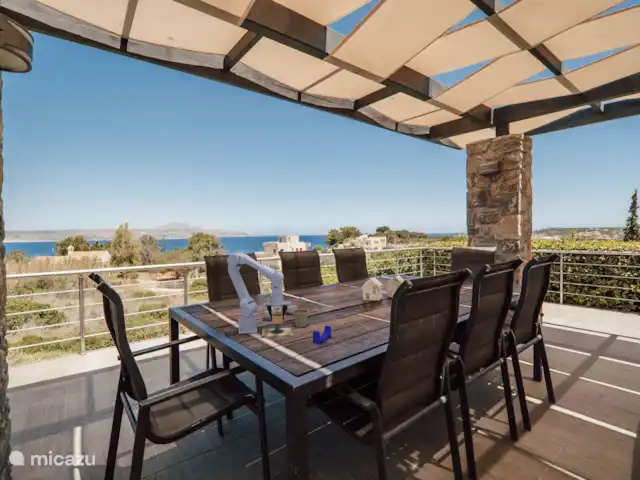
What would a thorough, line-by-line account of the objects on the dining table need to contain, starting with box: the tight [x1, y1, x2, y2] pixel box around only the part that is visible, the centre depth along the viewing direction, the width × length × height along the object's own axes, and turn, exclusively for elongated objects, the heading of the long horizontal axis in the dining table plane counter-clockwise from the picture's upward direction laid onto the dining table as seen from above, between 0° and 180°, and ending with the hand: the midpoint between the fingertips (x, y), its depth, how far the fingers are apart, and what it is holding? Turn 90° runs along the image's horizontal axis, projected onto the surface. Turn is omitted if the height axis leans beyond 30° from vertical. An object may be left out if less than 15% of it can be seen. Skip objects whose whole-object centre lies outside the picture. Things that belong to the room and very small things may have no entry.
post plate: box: [261, 324, 294, 339], centre depth 178 cm, size 16×12×6 cm
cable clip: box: [312, 324, 332, 345], centre depth 168 cm, size 12×4×6 cm, turn 144°
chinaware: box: [261, 293, 299, 321], centre depth 213 cm, size 28×17×17 cm, turn 142°
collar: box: [271, 312, 284, 325], centre depth 177 cm, size 6×6×4 cm
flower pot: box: [293, 308, 310, 328], centre depth 191 cm, size 9×9×9 cm
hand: (277, 319), depth 177 cm, fingers closed on collar, 6 cm apart
